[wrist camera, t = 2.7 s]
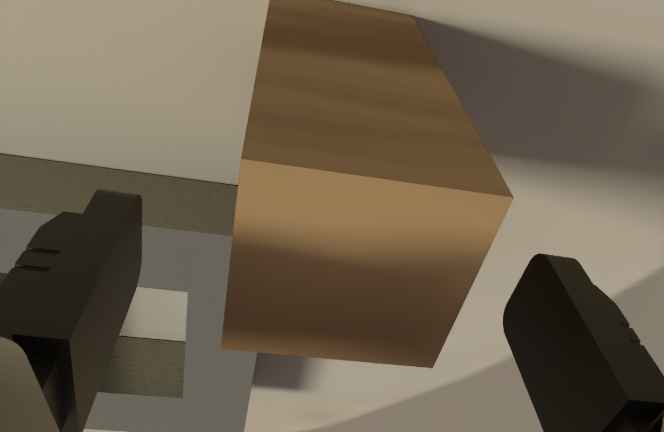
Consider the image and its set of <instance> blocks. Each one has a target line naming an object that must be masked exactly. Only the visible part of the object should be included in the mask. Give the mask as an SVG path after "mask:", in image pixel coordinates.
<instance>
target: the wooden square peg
mask: <svg viewBox="0 0 664 432" xmlns="http://www.w3.org/2000/svg"><path fill="white" fill-rule="evenodd" d="M513 198H514V197H513V195H512V194H511V192H510V190H509V188H508V186H507V185H506V183H505V181H504V179H503V178H502V176H501V174H500V172H499V170H498V169H497V167H496V165H495V163H494V161H493V160H492V158H491V156H490V154H489V152H488V151H487V149H486V147H485V145H484V143H483V142H482V140H481V138H480V136H479V134H478V133H477V131H476V129H475V127H474V125H473V124H472V122H471V120H470V118H469V117H468V115H467V113H466V111H465V109H464V108H463V106H462V104H461V102H460V100H459V99H458V97H457V95H456V93H455V91H454V90H453V88H452V86H451V84H450V82H449V81H448V79H447V77H446V75H445V73H444V72H443V70H442V68H441V66H440V65H439V63H438V61H437V59H436V57H435V56H434V54H433V52H432V50H431V48H430V47H429V45H428V43H427V41H426V39H425V38H424V36H423V34H422V32H421V30H420V29H419V27H418V25H417V23H416V21H415V20H414V18H413V16H411V15H406V14H401V13H396V12H391V11H385V10H380V9H375V8H370V7H364V6H359V5H354V4H349V3H343V2H338V1H333V0H270V1H269V6H268V12H267V17H266V23H265V29H264V34H263V40H262V45H261V51H260V56H259V62H258V68H257V73H256V79H255V84H254V90H253V95H252V101H251V106H250V112H249V118H248V123H247V129H246V134H245V140H244V145H243V151H242V156H241V164H240V173H239V183H238V192H237V201H236V210H235V219H234V229H233V238H232V247H231V256H230V266H229V275H228V284H227V293H226V302H225V312H224V321H223V330H222V339H221V348H220V349H225V350H236V351H247V352H258V353H269V354H281V355H292V356H303V357H314V358H325V359H337V360H348V361H359V362H370V363H381V364H393V365H404V366H415V367H426V368H433V366H434V364H435V362H436V360H437V358H438V356H439V353H440V351H441V349H442V347H443V345H444V343H445V341H446V339H447V337H448V335H449V332H450V330H451V328H452V326H453V324H454V322H455V320H456V318H457V316H458V314H459V311H460V309H461V307H462V305H463V303H464V301H465V299H466V297H467V295H468V293H469V290H470V288H471V286H472V284H473V282H474V280H475V278H476V276H477V274H478V272H479V269H480V267H481V265H482V263H483V261H484V259H485V257H486V255H487V253H488V251H489V249H490V246H491V244H492V242H493V240H494V238H495V236H496V234H497V232H498V230H499V228H500V225H501V223H502V221H503V219H504V217H505V215H506V213H507V211H508V209H509V207H510V204H511V202H512V200H513Z"/></svg>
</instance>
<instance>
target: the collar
mask: <svg viewBox="0 0 664 432" xmlns="http://www.w3.org/2000/svg"><path fill="white" fill-rule="evenodd" d="M98 189H104V190H111V191H118V192H125V193H132V194H139V195H141V198H142V263H141V270H140V276H139V280H138V284H137V287H145V288H154V289H164V290H174V291H183V292H188V304H187V324H186V342H175V341H164V340H153V339H142V338H131V337H119V336H118V339H117V341H116V344H115V347H114V349H113V352H112V355H111V357H110V360H109V363H108V365H107V368H106V371H105V373H104V376H103V379H102V382H101V384H100V387H99V390H98V392H97V395H96V398H95V400H94V403H93V406H92V408H91V411H90V414H89V416H88V419H87V422H86V424H85V427H84V429H97V430H113V431H128V432H244V427H245V421H246V416H247V410H248V404H249V398H250V392H251V386H252V380H253V375H254V369H255V363H256V357H257V352H247V351H236V350H225V349H220V348H221V339H222V330H223V321H224V312H225V302H226V293H227V284H228V275H229V266H230V256H231V247H232V238H233V229H234V219H235V210H236V201H237V192H238V186H234V185H227V184H220V183H212V182H205V181H197V180H190V179H182V178H175V177H168V176H160V175H153V174H145V173H138V172H130V171H123V170H116V169H108V168H101V167H93V166H86V165H78V164H71V163H63V162H56V161H49V160H41V159H34V158H26V157H19V156H11V155H4V154H0V285H1V283H2V282H3V280H4V279H5V277H6V276H7V274H8V273H9V271H10V270H11V268H14V267H15V263H16V261H17V260H18V258H19V257H20V255H21V254H22V252H23V251H26V246H27V245H28V243H29V242H30V240H31V239H32V238H33V236H34V235H35V233H36V232H37V230H38V229H39V227H40V226H42V225H43V224H45V223H46V222H48V221H49V220H51V219H52V218H54V217H56V216H57V215H59V214H60V213H62V212H63V211H66V212H73V213H80V214H83V212H84V210H85V209H86V207H87V205H88V204H89V202H90V200H91V198H92V197H93V195H94V193H95V192H96V191H97V190H98Z"/></svg>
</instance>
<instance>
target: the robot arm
mask: <svg viewBox="0 0 664 432" xmlns="http://www.w3.org/2000/svg"><path fill="white" fill-rule="evenodd" d="M141 263H142V198H141V195H139V194H132V193H125V192H118V191H111V190H104V189H98V190H97V191H96V192H95V193H94V195H93V197H92V198H91V200H90V202H89V204H88V205H87V207H86V209H85V210H84V212H83V214H80V213H73V212H66V211H63V212H62V213H60V214H59V215H57V216H56V217H54V218H52V219H51V220H49V221H48V222H46V223H45V224H43V225H42V226H40V227H39V229H38V230H37V232H36V233H35V235H34V236H33V238H32V239H31V240H30V242H29V243H28V245H27V246H26V251H23V252H22V254H21V255H20V257H19V258H18V260H17V261H16V263H15V267H14V268H11V270H10V271H9V273H8V274H7V276H6V277H5V279H4V280H3V282H2V283H1V285H0V432H83V430H84V427H85V424H86V422H87V419H88V416H89V414H90V411H91V408H92V406H93V403H94V400H95V398H96V395H97V392H98V390H99V387H100V384H101V382H102V379H103V376H104V373H105V371H106V368H107V365H108V363H109V360H110V357H111V355H112V352H113V349H114V347H115V344H116V341H117V339H118V336H119V333H120V331H121V328H122V325H123V323H124V320H125V317H126V315H127V312H128V309H129V307H130V304H131V301H132V299H133V296H134V293H135V291H136V288H137V284H138V280H139V276H140V270H141ZM503 328H504V333H505V336H506V338H507V341H508V343H509V346H510V348H511V351H512V353H513V356H514V358H515V361H516V363H517V366H518V368H519V371H520V373H521V376H522V378H523V381H524V383H525V386H526V388H527V391H528V393H529V396H530V398H531V401H532V403H533V406H534V408H535V410H536V413H537V416H538V418H539V421H540V423H541V426H542V428H543V431H544V432H664V376H663V374H662V373H661V371H660V370H659V368H658V367H657V365H656V364H655V362H654V361H653V359H652V357H651V356H650V355H649V353H648V352H647V350H646V348H645V347H644V346H643V345H640V339H639V338H638V336H637V335H636V333H635V332H634V330H633V329H632V328H629V323H628V321H627V320H626V318H625V317H624V315H623V314H622V312H621V311H620V309H619V308H618V306H617V305H616V304H615V303H614V302H613V301H612V300H611V299H610V298H609V297H608V296H607V295H606V294H605V293H603V292H602V291H601V290H600V289H599V288H598V287H597V286H596V285H593V283H592V282H591V280H590V279H589V277H588V275H587V274H586V272H585V271H584V269H583V268H582V266H581V265H580V263H579V262H578V261H577V260H576V259H574V258H568V257H561V256H554V255H547V254H537V255H535V256H534V257H533V258H532V259H531V260H530V262H529V264H528V266H527V268H526V269H525V271H524V273H523V275H522V277H521V279H520V280H519V282H518V284H517V286H516V288H515V290H514V291H513V293H512V295H511V297H510V299H509V301H508V302H507V305H506V307H505V310H504V315H503Z"/></svg>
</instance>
